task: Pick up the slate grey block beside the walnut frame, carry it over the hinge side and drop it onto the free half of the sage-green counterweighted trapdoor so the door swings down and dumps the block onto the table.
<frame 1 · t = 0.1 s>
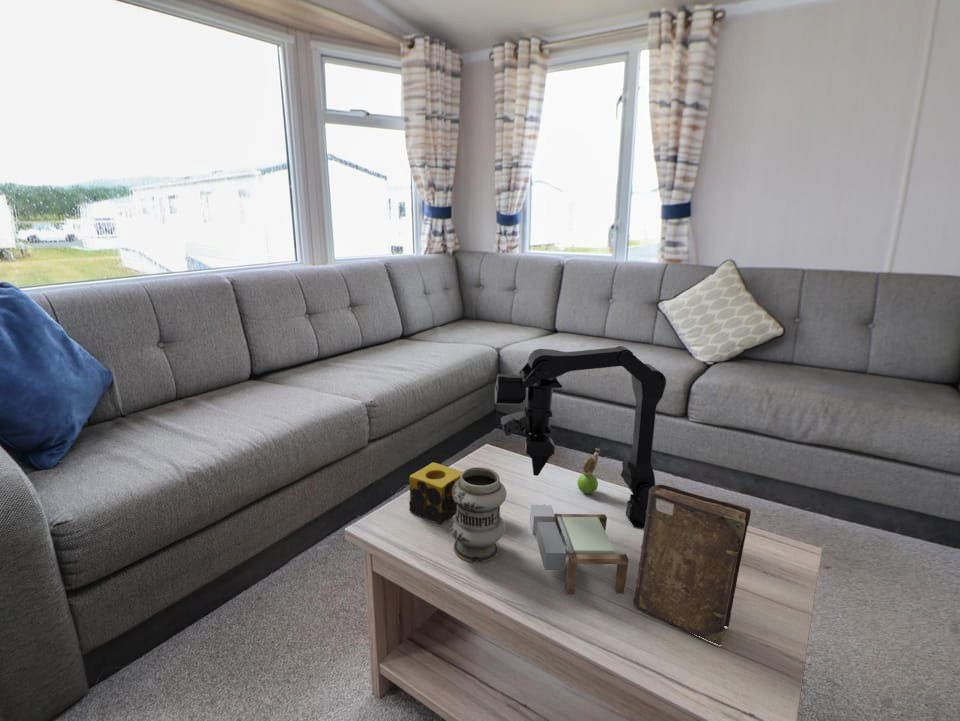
hand: (534, 466, 125), 14 cm above the table, fingers open, 9 cm apart
candle: (436, 510, 131), on the table
slate grey block: (541, 529, 125), on the table
beverage cup: (481, 515, 130), on the table
trapdoor: (572, 543, 110), point 6 cm above the table, hinge at 0.0°
walnut frame: (585, 567, 111), on the table
book: (678, 618, 99), on the table
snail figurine: (587, 492, 143), on the table
apothecary jar: (476, 549, 116), on the table
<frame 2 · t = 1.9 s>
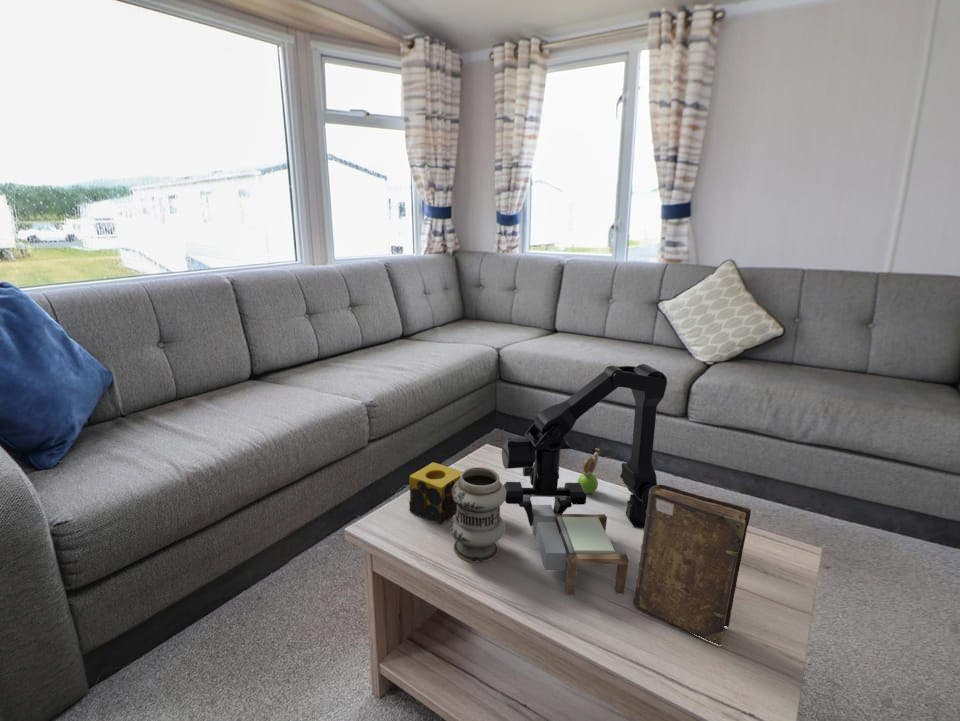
hand: (541, 524, 125), 1 cm above the table, fingers closed on slate grey block, 5 cm apart
slate grey block: (541, 528, 125), on the table, touching gripper
everything else where it was.
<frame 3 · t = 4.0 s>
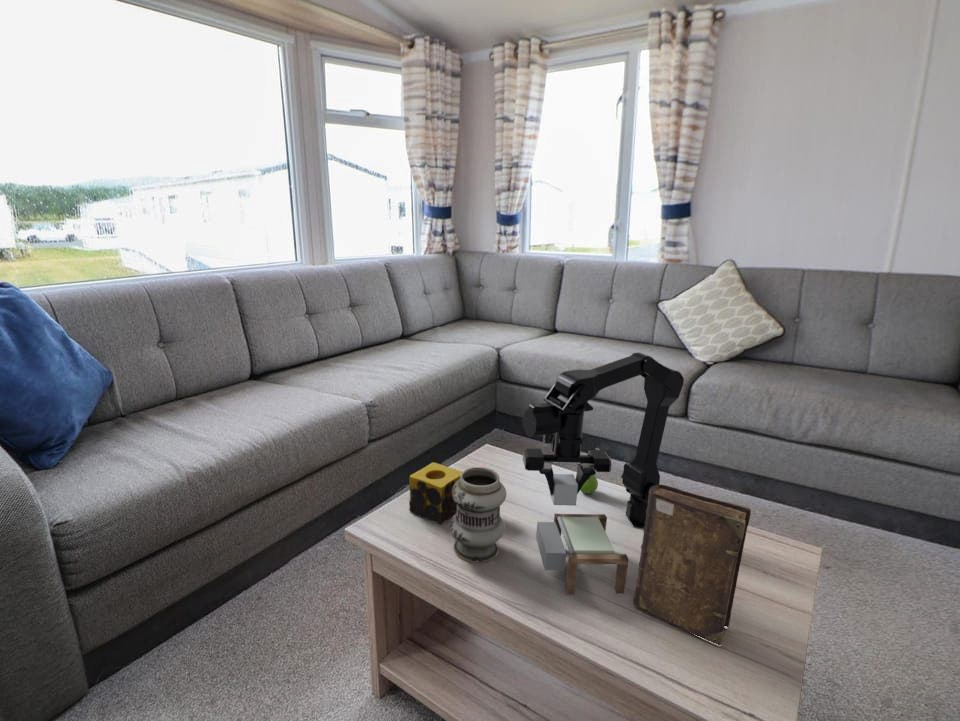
hand: (563, 494, 118), 12 cm above the table, fingers closed on slate grey block, 5 cm apart
slate grey block: (562, 499, 118), point 11 cm above the table, touching gripper
everything else where it was.
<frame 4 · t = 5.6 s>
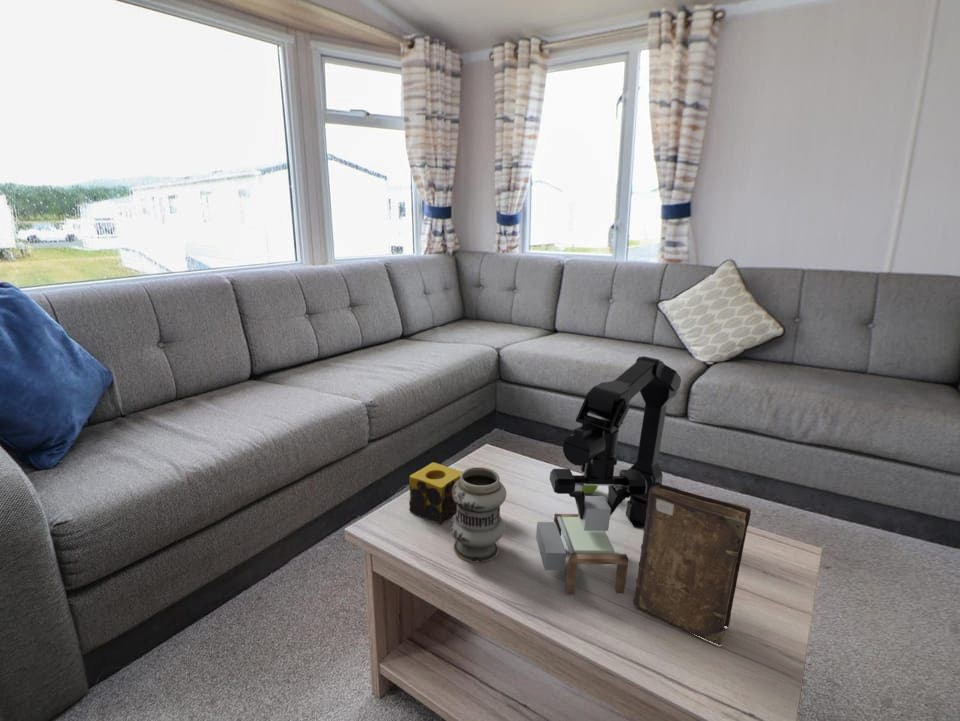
hand: (593, 518, 108), 12 cm above the table, fingers closed on slate grey block, 5 cm apart
slate grey block: (592, 523, 109), point 11 cm above the table, touching gripper
everything else where it was.
when the fingers open (12 cm above the table, at t = 6.0 s): slate grey block drops 5 cm and tips over, resting on trapdoor.
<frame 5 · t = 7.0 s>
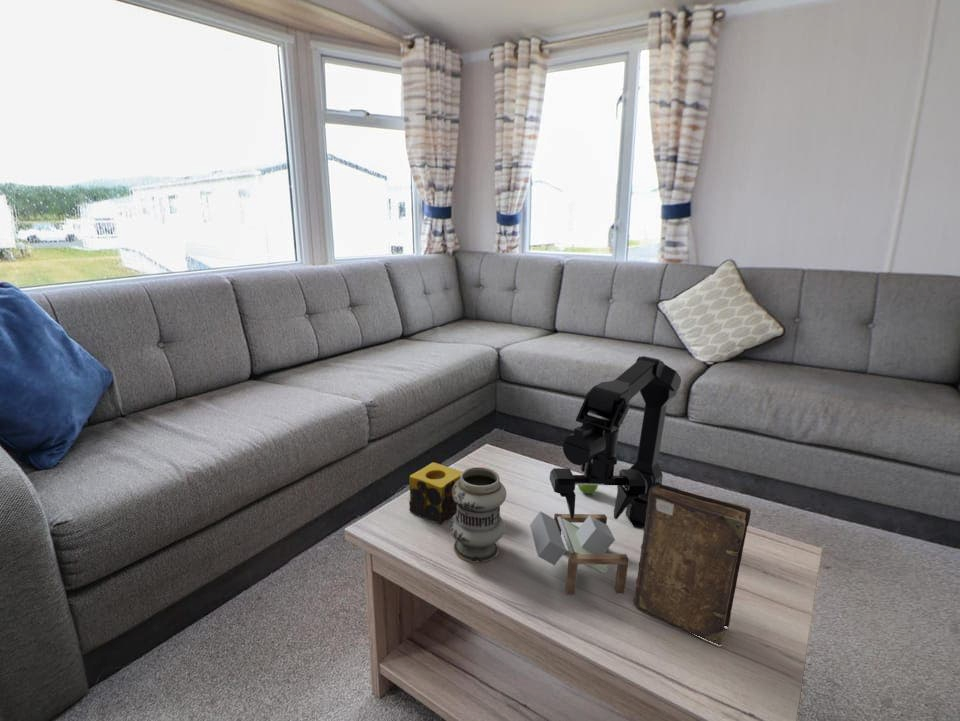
hand: (593, 518, 108), 12 cm above the table, fingers open, 9 cm apart
slate grey block: (587, 544, 110), point 6 cm above the table, tilted 31°, touching trapdoor
trapdoor: (566, 545, 110), point 5 cm above the table, hinge at -31.1°, touching slate grey block
everything else where it was.
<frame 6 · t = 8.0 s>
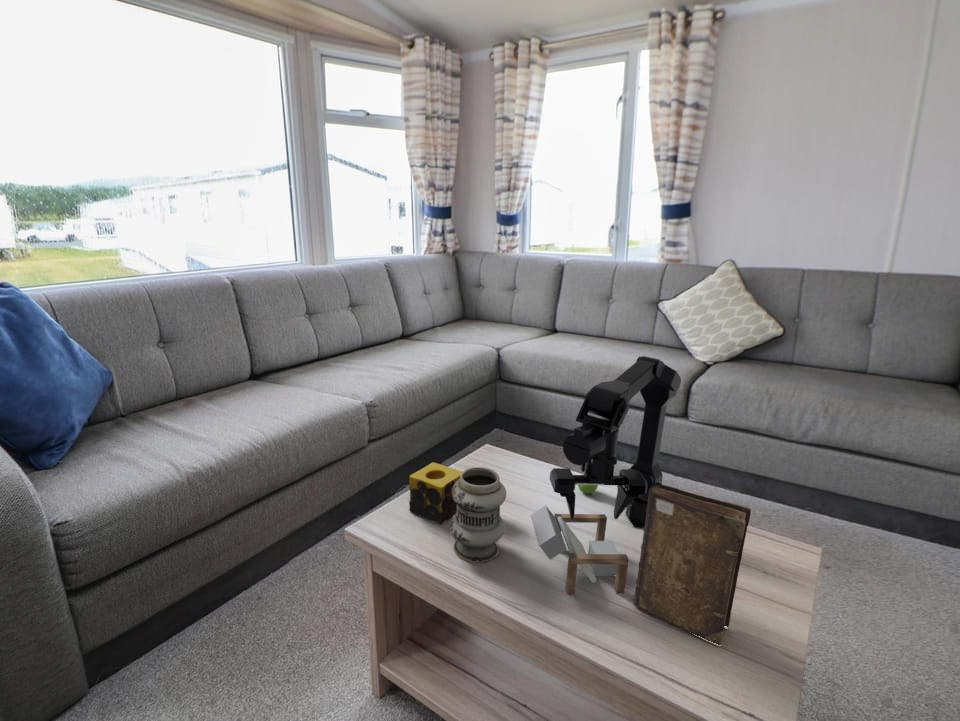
hand: (593, 518, 108), 12 cm above the table, fingers open, 9 cm apart
slate grey block: (591, 558, 111), point 2 cm above the table, tilted 90°
trapdoor: (562, 545, 110), point 5 cm above the table, hinge at -51.7°
everything else where it was.
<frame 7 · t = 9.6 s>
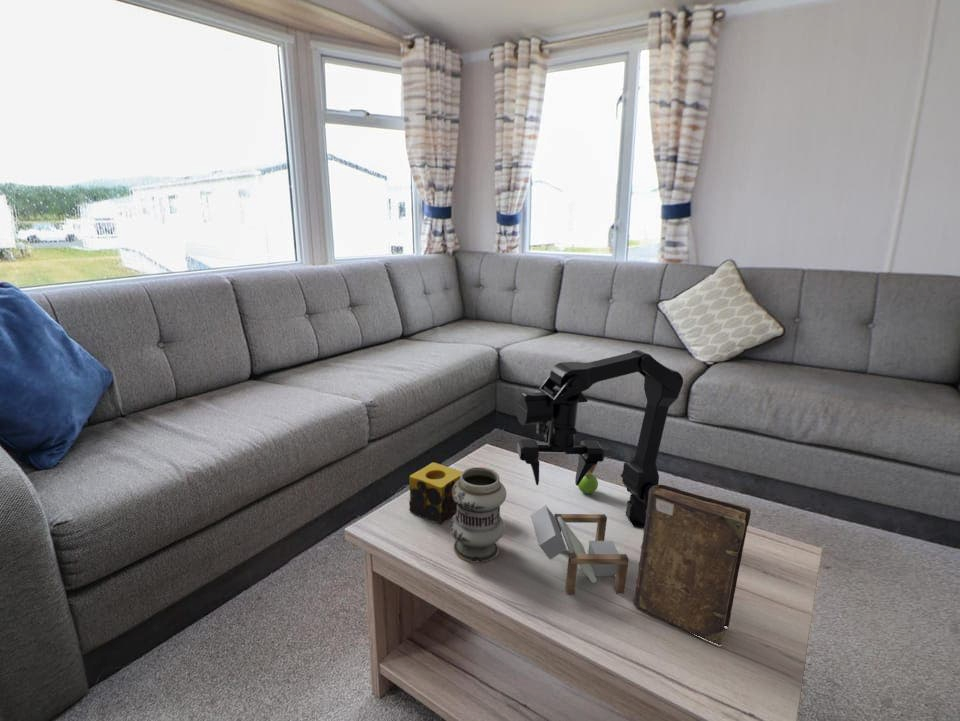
hand: (556, 484, 119), 13 cm above the table, fingers open, 9 cm apart
nothing on the table moved.
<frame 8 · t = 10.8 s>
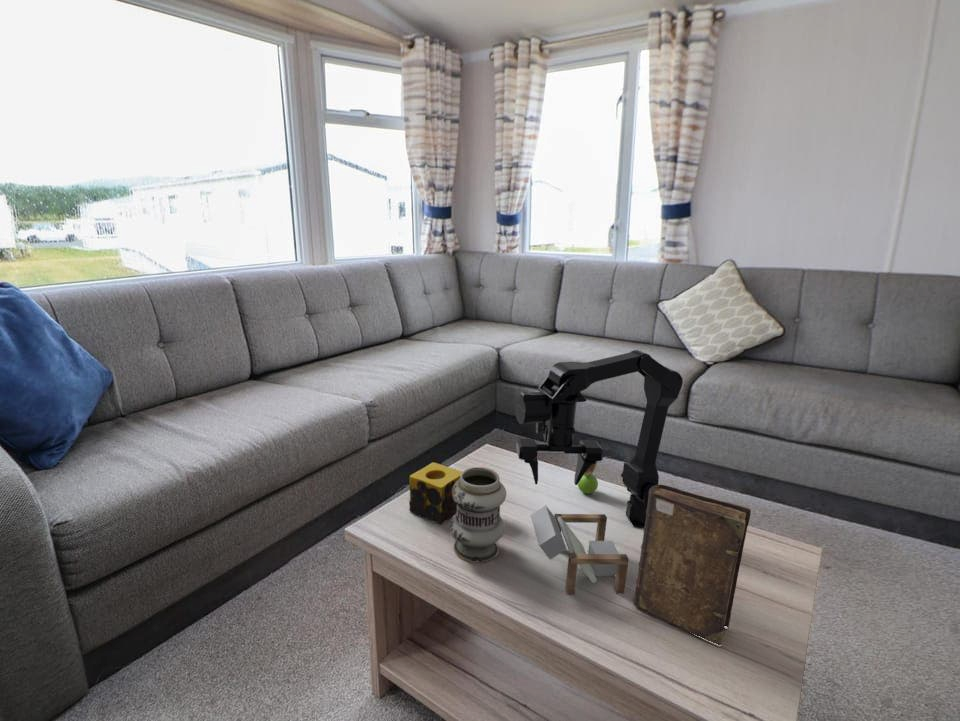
hand: (555, 483, 120), 13 cm above the table, fingers open, 9 cm apart
nothing on the table moved.
at the end: slate grey block point 2.4 cm above the table; slate grey block inside the target area (3.0 cm from its centre), point 2.4 cm above the table; the gripper is holding nothing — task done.
